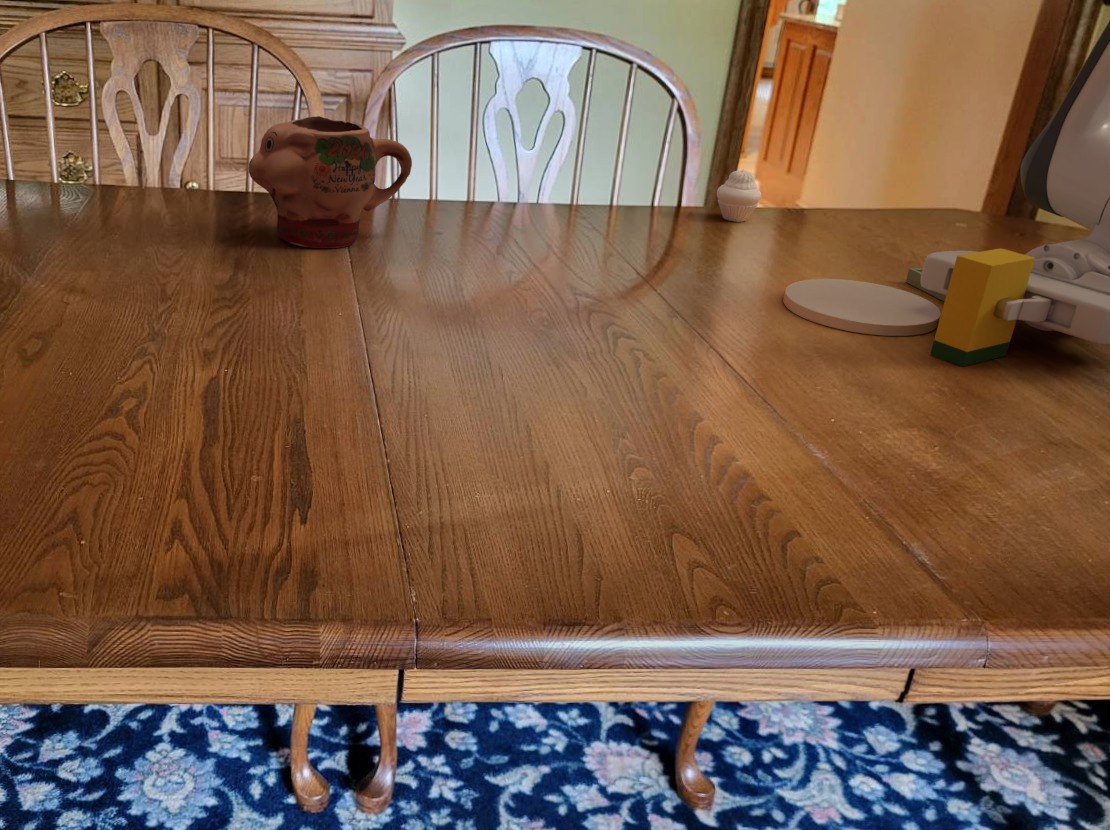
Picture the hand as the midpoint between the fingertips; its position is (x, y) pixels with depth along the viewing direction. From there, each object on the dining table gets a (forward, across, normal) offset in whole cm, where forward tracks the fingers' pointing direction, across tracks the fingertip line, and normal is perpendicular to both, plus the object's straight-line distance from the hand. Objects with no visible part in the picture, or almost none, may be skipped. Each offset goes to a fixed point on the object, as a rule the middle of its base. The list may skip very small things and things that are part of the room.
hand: (978, 303), depth 106 cm
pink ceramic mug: (+38, -61, +6) cm, 72 cm away
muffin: (-21, -50, +6) cm, 54 cm away
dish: (-21, -13, +6) cm, 26 cm away
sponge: (-1, 0, +6) cm, 6 cm away
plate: (-2, -14, +6) cm, 15 cm away
